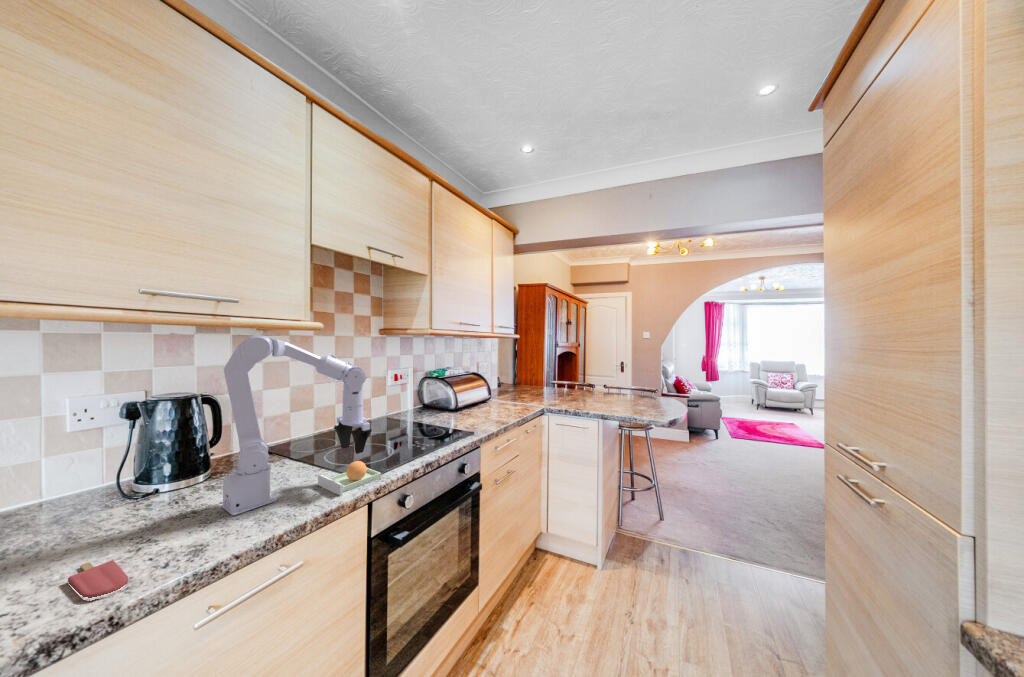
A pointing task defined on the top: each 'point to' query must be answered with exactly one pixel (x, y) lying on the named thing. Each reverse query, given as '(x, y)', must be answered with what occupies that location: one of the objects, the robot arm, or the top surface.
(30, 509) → the top surface
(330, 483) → the acrylic wall
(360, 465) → the ball
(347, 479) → the tray
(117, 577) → the popsicle
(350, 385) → the robot arm
